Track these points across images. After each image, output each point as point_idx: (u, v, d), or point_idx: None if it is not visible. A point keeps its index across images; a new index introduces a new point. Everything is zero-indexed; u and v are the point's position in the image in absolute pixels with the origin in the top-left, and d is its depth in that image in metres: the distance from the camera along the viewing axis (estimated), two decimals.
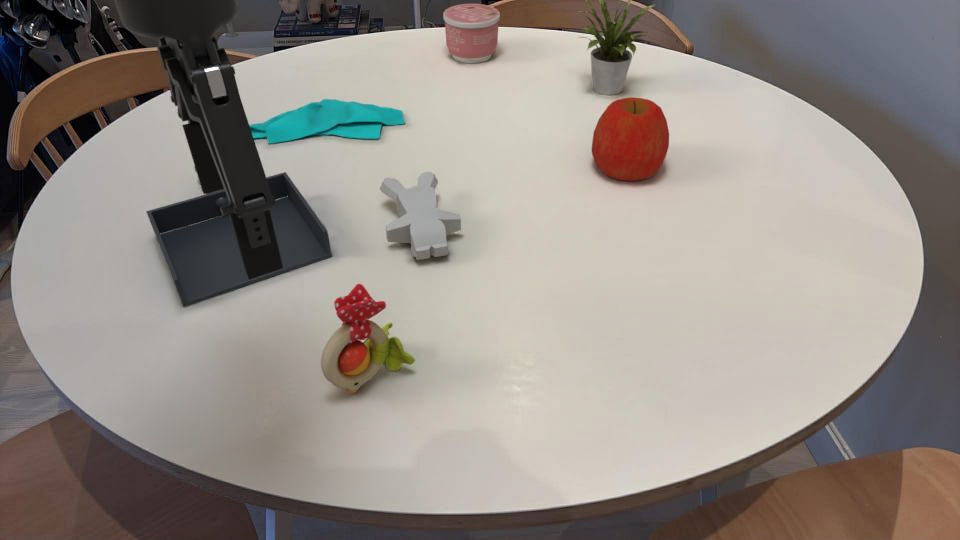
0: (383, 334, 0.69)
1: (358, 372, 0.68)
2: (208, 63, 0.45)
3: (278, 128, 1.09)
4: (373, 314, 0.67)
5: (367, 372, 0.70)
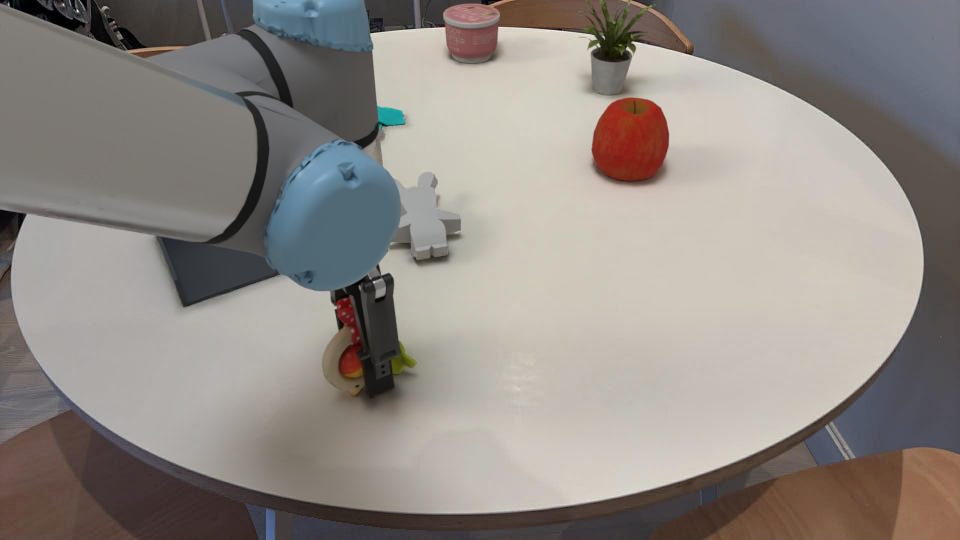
0: None
1: (359, 374, 0.68)
2: (373, 271, 0.57)
3: None
4: None
5: None
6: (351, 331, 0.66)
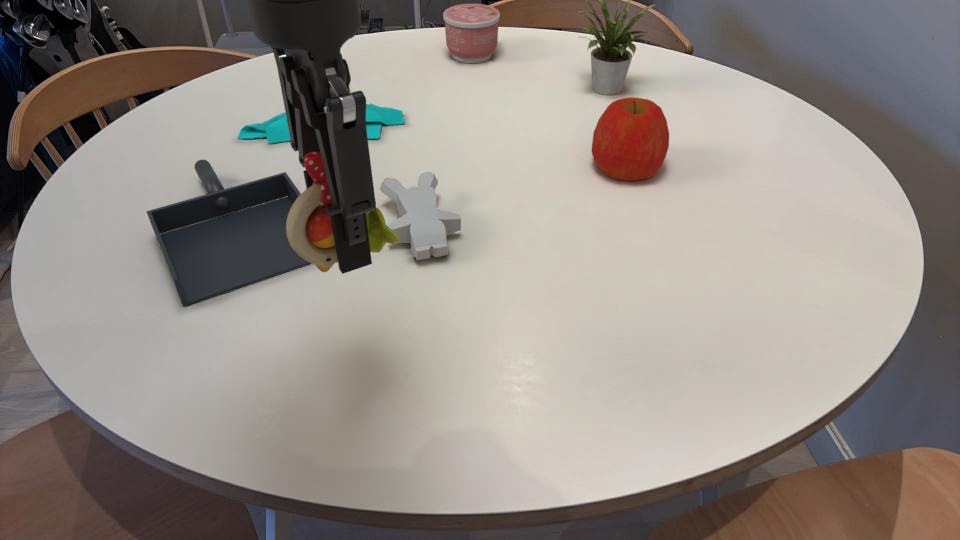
0: None
1: (330, 243, 0.58)
2: (341, 87, 0.47)
3: (278, 128, 1.09)
4: None
5: None
6: (321, 188, 0.56)
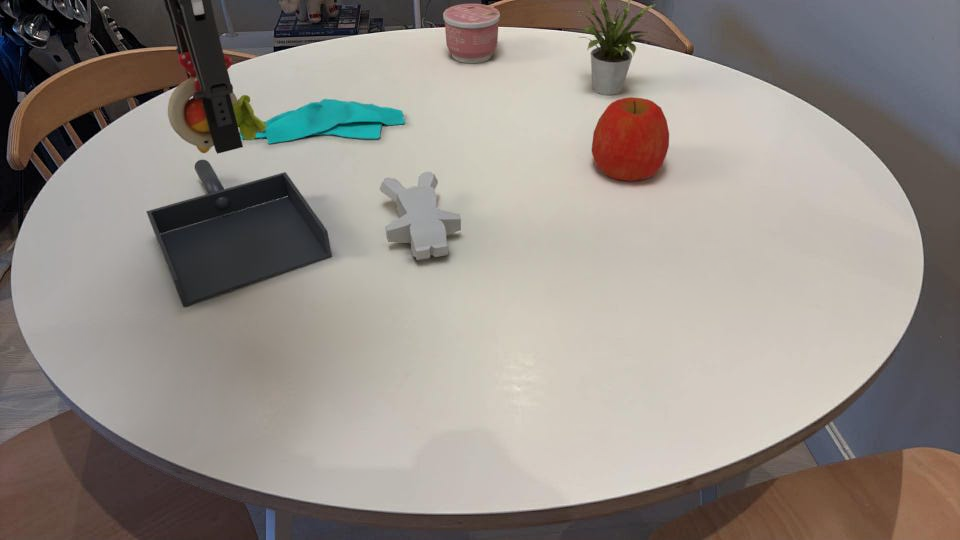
0: (233, 96, 0.73)
1: (205, 126, 0.72)
2: None
3: (278, 128, 1.09)
4: None
5: None
6: (194, 80, 0.70)
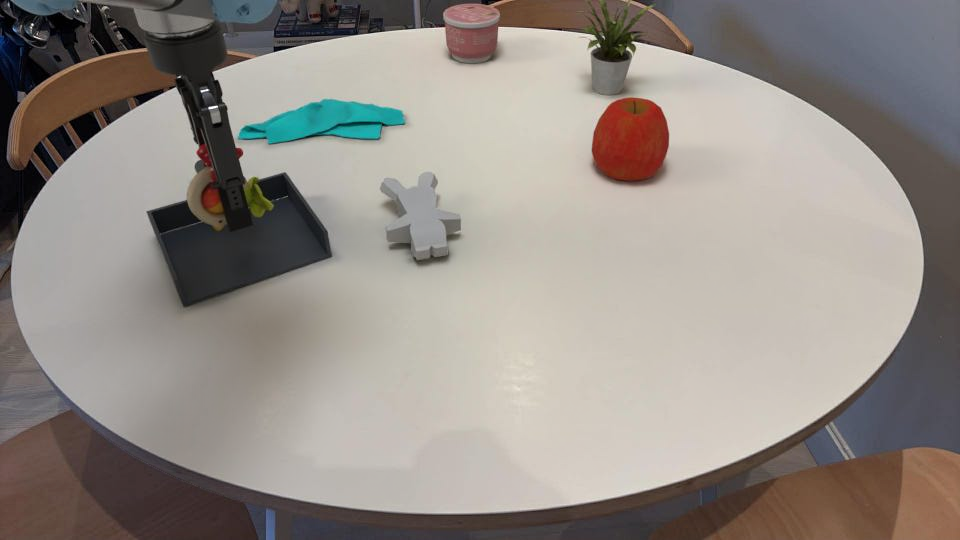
0: None
1: (220, 209, 0.81)
2: (210, 100, 0.70)
3: (278, 128, 1.09)
4: None
5: None
6: (210, 169, 0.79)
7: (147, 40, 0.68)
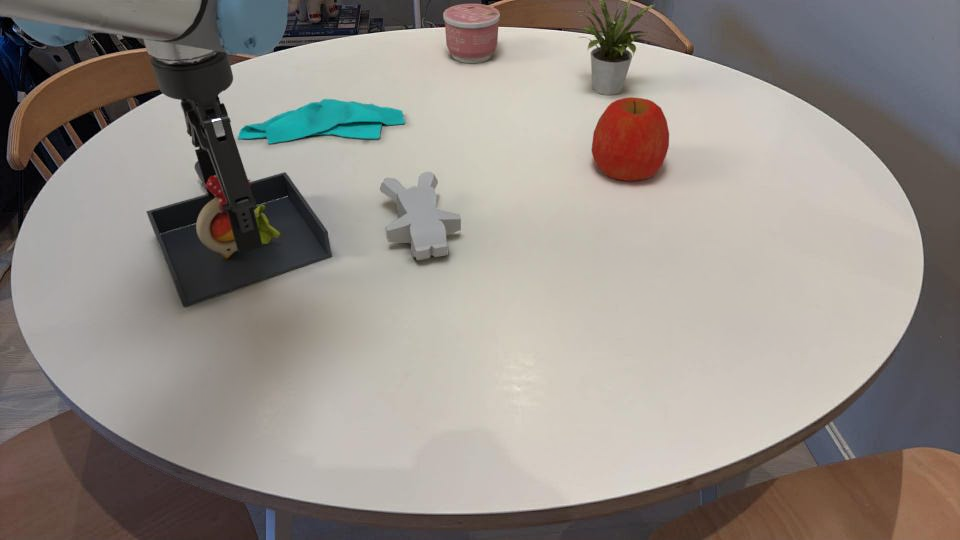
0: None
1: (228, 238, 0.83)
2: (213, 115, 0.71)
3: (278, 128, 1.09)
4: None
5: None
6: (219, 200, 0.82)
7: (155, 66, 0.70)
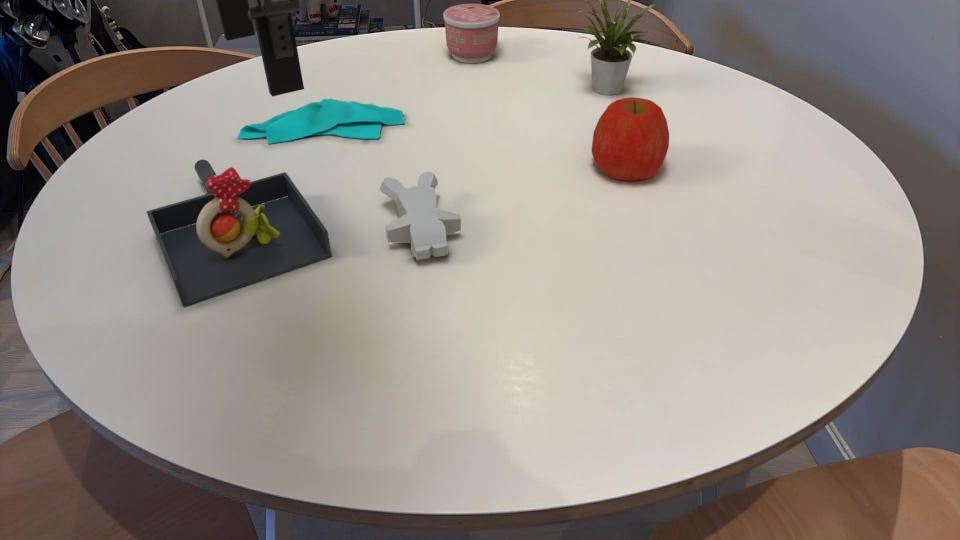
0: (251, 210, 0.85)
1: (228, 238, 0.83)
2: None
3: (278, 128, 1.09)
4: (240, 190, 0.83)
5: (239, 241, 0.85)
6: (219, 200, 0.82)
7: None
